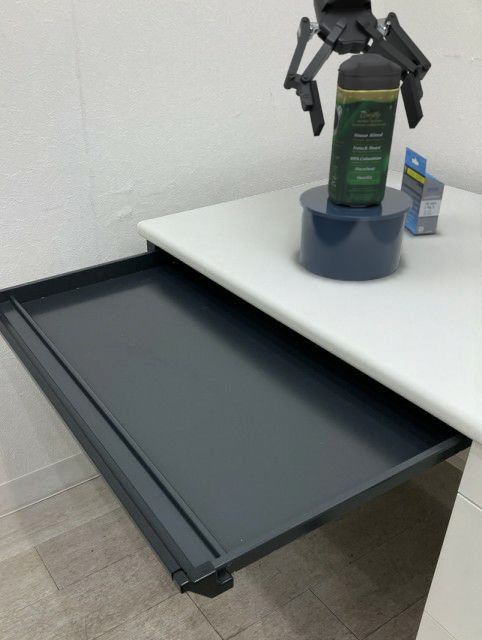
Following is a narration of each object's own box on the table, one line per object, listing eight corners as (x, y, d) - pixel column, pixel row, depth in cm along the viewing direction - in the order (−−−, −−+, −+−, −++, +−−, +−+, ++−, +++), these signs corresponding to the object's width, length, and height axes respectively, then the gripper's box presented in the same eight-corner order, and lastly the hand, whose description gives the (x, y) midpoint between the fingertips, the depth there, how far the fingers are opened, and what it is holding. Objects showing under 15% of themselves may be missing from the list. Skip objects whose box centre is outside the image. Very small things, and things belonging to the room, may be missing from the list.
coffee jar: (388, 208, 82) (410, 57, 72) (330, 209, 83) (343, 59, 72) (377, 188, 90) (395, 49, 80) (324, 188, 91) (335, 51, 80)
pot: (388, 239, 98) (396, 181, 93) (415, 280, 85) (427, 215, 79) (291, 242, 99) (294, 184, 93) (302, 283, 85) (306, 218, 80)
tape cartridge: (436, 234, 99) (451, 158, 92) (413, 235, 99) (426, 159, 92) (416, 216, 107) (427, 144, 100) (394, 218, 106) (405, 146, 99)
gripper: (411, 8, 88) (442, 135, 85) (248, 17, 86) (272, 149, 82) (435, -36, 81) (470, 101, 77) (257, -27, 78) (284, 115, 74)
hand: (368, 126), depth 79 cm, fingers open, 13 cm apart
